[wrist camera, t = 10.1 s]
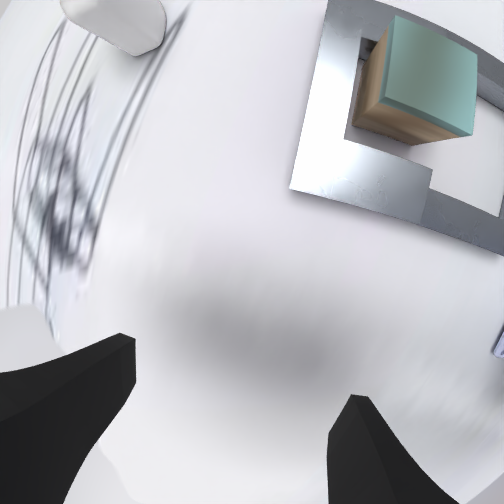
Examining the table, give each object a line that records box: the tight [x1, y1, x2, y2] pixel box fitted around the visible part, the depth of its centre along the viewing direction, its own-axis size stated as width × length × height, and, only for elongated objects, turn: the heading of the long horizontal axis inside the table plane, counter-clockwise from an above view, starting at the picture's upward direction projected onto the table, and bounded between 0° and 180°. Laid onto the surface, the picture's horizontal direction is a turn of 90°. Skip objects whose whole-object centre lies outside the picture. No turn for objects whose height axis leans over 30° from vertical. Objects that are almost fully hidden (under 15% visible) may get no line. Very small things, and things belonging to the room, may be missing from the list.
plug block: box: [351, 15, 477, 146], centre depth 11 cm, size 4×4×7 cm
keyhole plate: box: [289, 0, 504, 256], centre depth 13 cm, size 16×12×3 cm
